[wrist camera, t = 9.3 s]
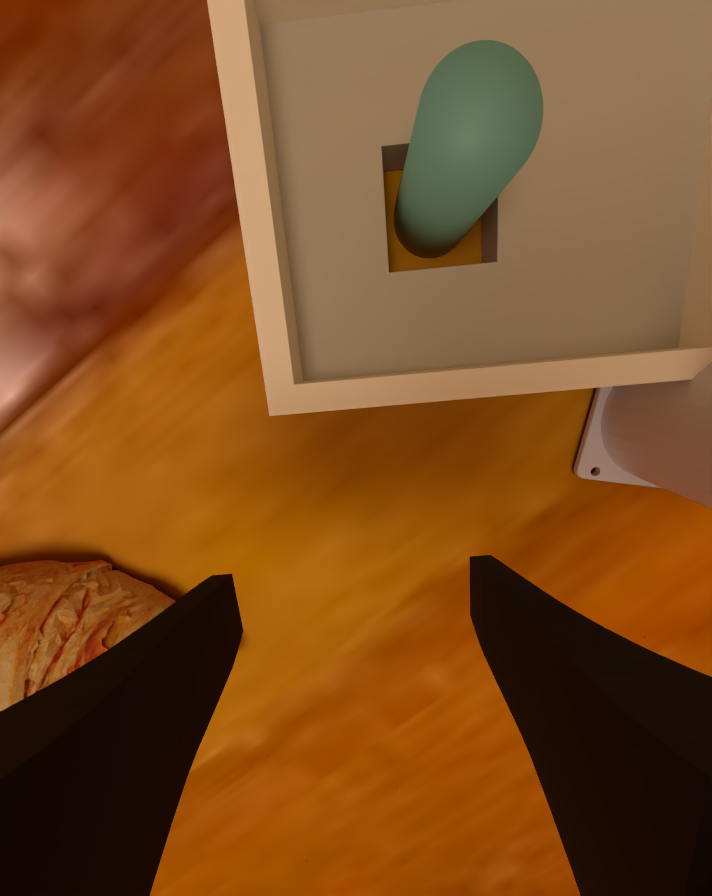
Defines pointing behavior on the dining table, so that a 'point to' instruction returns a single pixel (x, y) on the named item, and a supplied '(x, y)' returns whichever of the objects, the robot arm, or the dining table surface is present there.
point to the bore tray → (503, 223)
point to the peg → (466, 143)
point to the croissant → (64, 619)
